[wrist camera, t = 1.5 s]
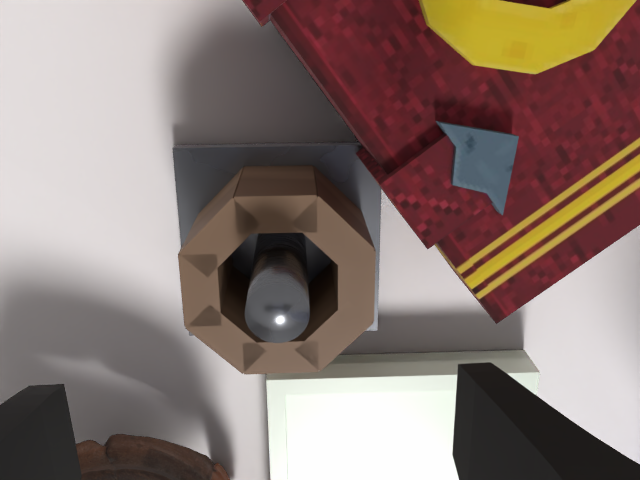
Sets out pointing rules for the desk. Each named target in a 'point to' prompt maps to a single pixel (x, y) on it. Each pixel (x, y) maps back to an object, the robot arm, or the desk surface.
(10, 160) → the desk surface
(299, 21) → the decorative book
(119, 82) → the desk surface
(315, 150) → the grey peg stand
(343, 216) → the collar
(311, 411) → the tray
